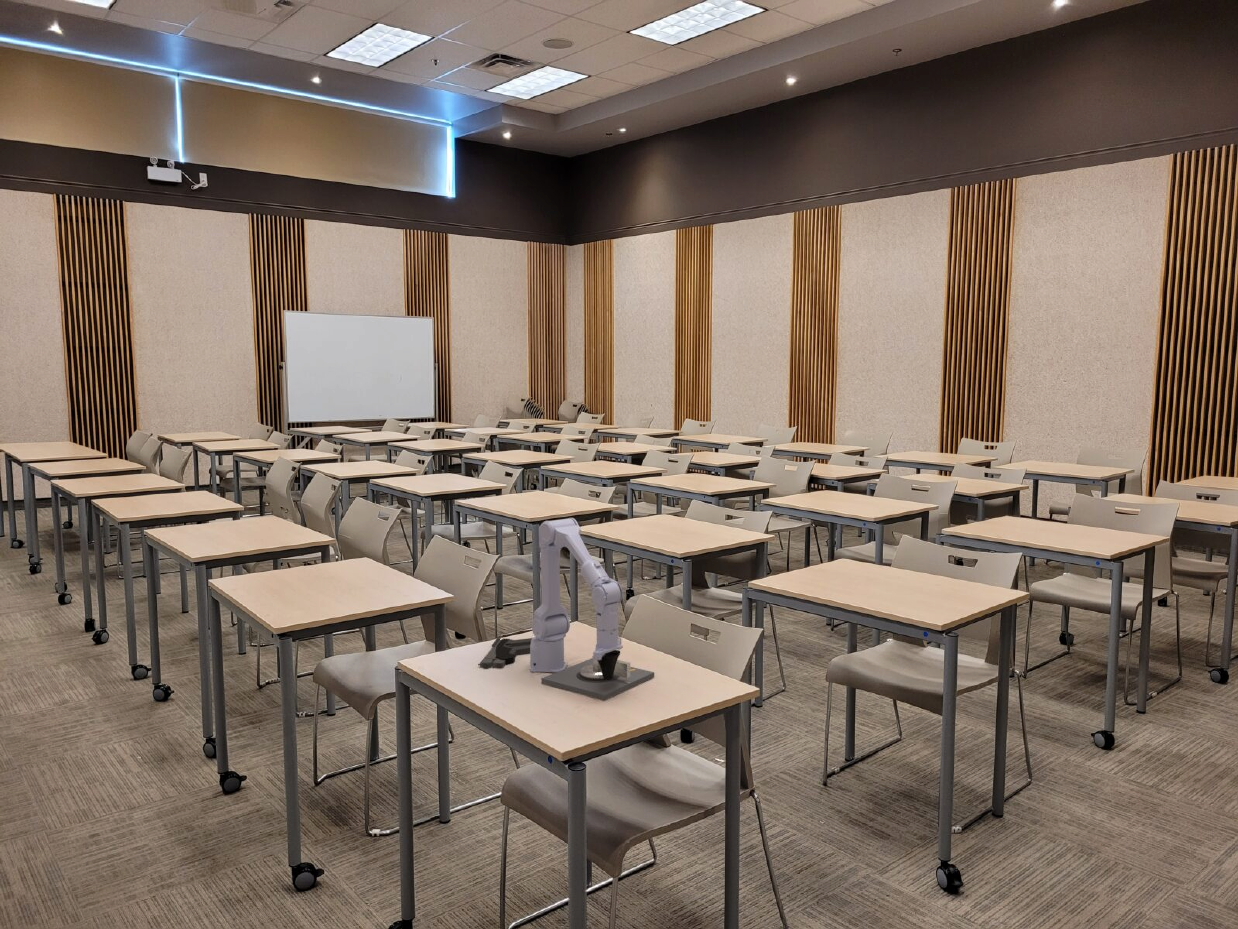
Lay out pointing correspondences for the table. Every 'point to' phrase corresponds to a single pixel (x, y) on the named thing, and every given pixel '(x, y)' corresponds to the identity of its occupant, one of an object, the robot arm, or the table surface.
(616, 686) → the dial plate
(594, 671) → the dial
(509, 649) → the pistol
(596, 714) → the table surface
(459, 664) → the table surface
